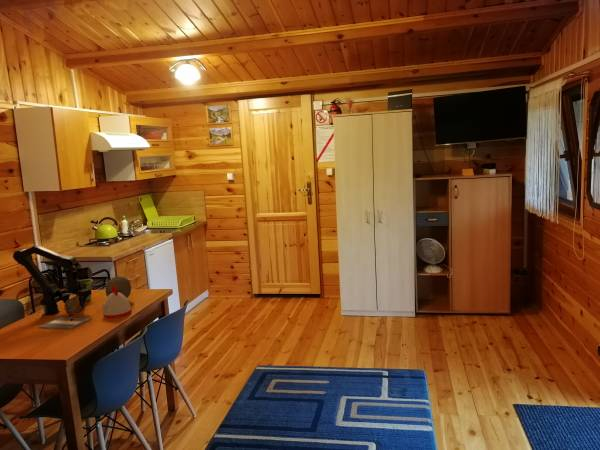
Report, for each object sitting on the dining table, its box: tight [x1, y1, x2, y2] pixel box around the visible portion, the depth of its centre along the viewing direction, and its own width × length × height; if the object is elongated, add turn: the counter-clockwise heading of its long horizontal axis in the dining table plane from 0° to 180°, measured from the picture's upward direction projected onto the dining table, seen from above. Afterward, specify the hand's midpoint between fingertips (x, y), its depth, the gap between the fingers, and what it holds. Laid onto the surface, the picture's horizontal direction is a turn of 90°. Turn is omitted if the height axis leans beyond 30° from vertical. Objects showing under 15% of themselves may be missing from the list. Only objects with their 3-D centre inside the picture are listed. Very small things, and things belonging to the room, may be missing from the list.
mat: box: [38, 316, 92, 330], centre depth 237 cm, size 20×14×1 cm
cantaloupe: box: [105, 276, 132, 299], centre depth 265 cm, size 14×14×15 cm
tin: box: [64, 295, 87, 315], centre depth 254 cm, size 15×3×8 cm, turn 168°
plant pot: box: [75, 278, 94, 302], centre depth 275 cm, size 12×12×11 cm
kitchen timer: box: [102, 286, 132, 319], centre depth 246 cm, size 14×14×15 cm
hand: (76, 308), depth 255 cm, fingers open, 9 cm apart
